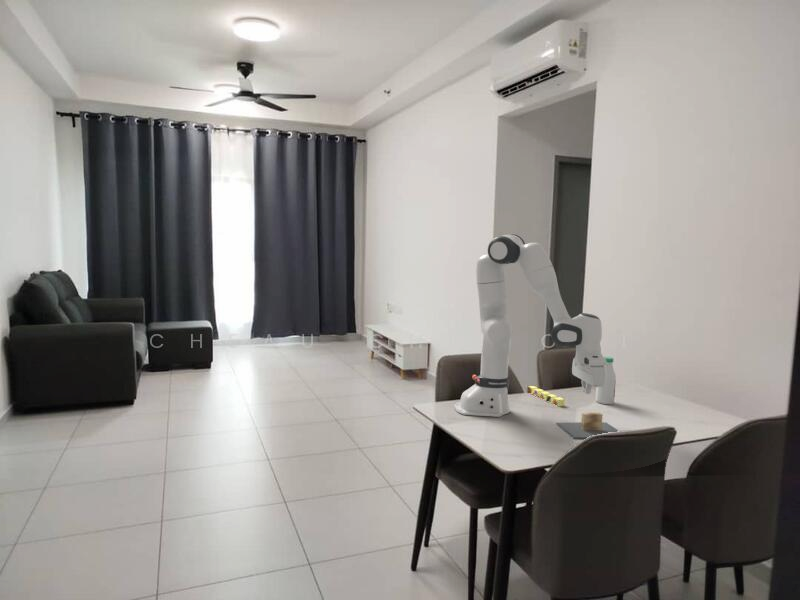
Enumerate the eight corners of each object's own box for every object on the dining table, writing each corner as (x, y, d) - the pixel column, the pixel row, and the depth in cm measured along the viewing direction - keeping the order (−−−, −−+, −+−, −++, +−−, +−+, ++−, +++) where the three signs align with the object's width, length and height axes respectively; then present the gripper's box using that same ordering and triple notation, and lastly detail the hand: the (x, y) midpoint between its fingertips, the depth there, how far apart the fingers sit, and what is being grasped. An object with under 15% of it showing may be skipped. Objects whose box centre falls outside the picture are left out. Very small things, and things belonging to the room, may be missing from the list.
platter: (550, 389, 263) (550, 382, 263) (596, 408, 233) (596, 400, 233) (492, 393, 252) (492, 386, 251) (532, 414, 222) (533, 406, 221)
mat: (574, 438, 193) (574, 437, 193) (556, 424, 209) (556, 422, 209) (627, 438, 195) (627, 436, 195) (606, 423, 211) (606, 422, 211)
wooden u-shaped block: (583, 430, 201) (584, 414, 200) (580, 428, 203) (581, 412, 202) (601, 430, 201) (602, 414, 201) (598, 428, 204) (599, 412, 203)
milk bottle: (612, 405, 236) (615, 360, 234) (593, 402, 240) (596, 357, 238) (615, 401, 243) (618, 357, 241) (597, 398, 247) (600, 355, 245)
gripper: (568, 351, 216) (567, 385, 217) (592, 362, 195) (590, 400, 197) (583, 351, 216) (582, 385, 218) (609, 362, 196) (607, 399, 197)
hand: (586, 392), depth 207 cm, fingers closed
